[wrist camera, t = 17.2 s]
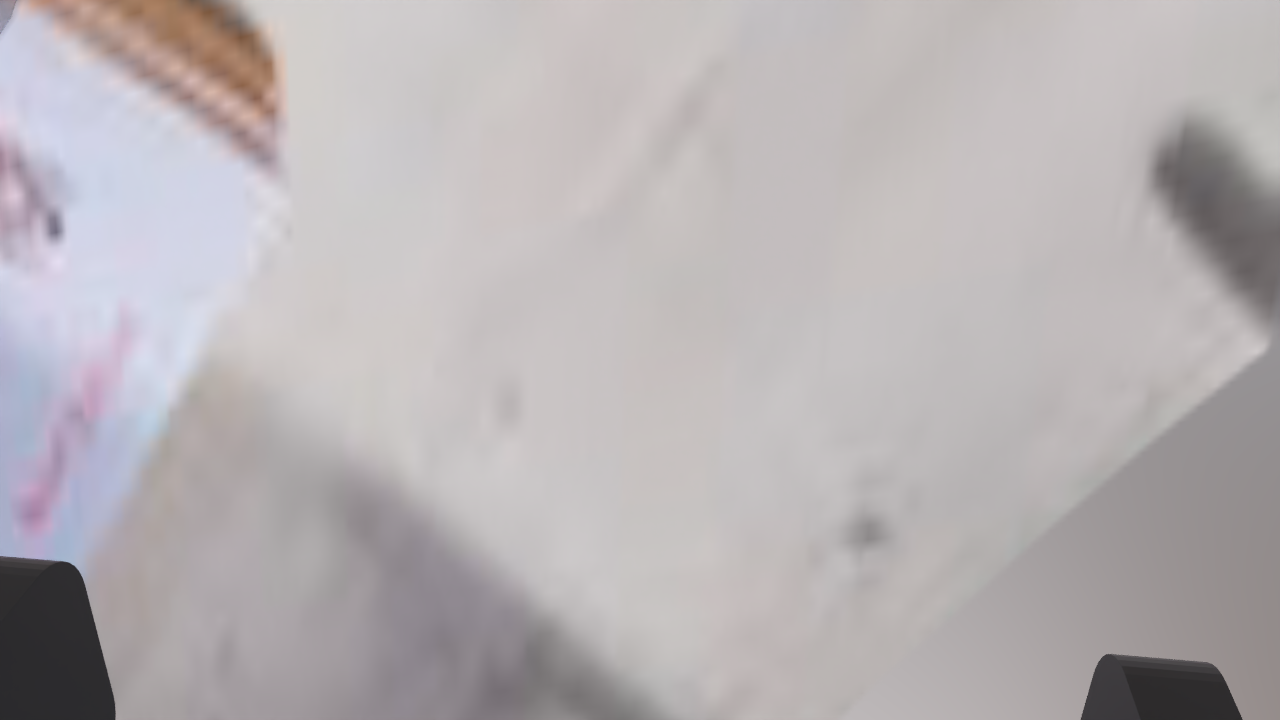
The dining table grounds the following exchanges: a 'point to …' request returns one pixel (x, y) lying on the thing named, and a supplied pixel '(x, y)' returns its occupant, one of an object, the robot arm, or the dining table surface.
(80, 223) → the dining table surface
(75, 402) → the dining table surface
